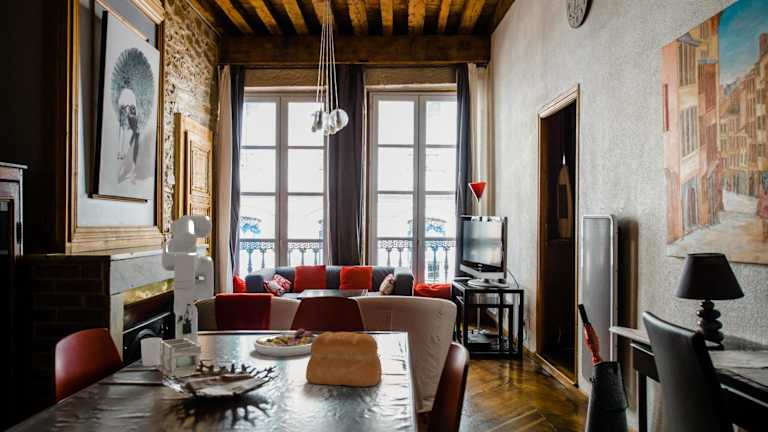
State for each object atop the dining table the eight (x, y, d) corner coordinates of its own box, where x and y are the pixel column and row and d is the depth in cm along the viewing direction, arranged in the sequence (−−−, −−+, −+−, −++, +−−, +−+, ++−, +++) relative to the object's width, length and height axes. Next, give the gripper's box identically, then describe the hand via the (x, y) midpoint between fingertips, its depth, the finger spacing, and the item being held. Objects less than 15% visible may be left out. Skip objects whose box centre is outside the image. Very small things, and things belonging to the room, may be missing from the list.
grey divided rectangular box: (156, 367, 204) (156, 341, 204) (187, 362, 211) (187, 337, 211) (171, 379, 187) (171, 350, 187) (204, 373, 194) (204, 346, 195)
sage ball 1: (174, 334, 196) (174, 319, 196) (189, 332, 200) (189, 318, 200) (179, 336, 192) (179, 321, 192) (194, 334, 195) (194, 320, 196)
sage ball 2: (173, 369, 196) (173, 354, 196) (188, 366, 199) (188, 352, 199) (178, 372, 191) (178, 357, 191) (193, 369, 195) (193, 354, 195)
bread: (375, 389, 174) (374, 338, 175) (302, 385, 180) (302, 335, 180) (384, 376, 190) (384, 329, 190) (317, 373, 195) (317, 327, 196)
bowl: (301, 361, 214) (301, 342, 214) (240, 355, 224) (240, 337, 224) (331, 345, 242) (331, 329, 243) (275, 341, 252) (275, 325, 252)
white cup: (153, 367, 205) (154, 341, 205) (136, 366, 206) (136, 341, 207) (166, 362, 213) (166, 337, 213) (149, 361, 214) (149, 337, 214)
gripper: (168, 284, 201) (167, 330, 200) (181, 287, 187) (181, 337, 187) (187, 282, 205) (187, 328, 205) (202, 286, 192) (201, 334, 191)
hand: (184, 332), depth 196 cm, fingers closed on sage ball 1, 5 cm apart
